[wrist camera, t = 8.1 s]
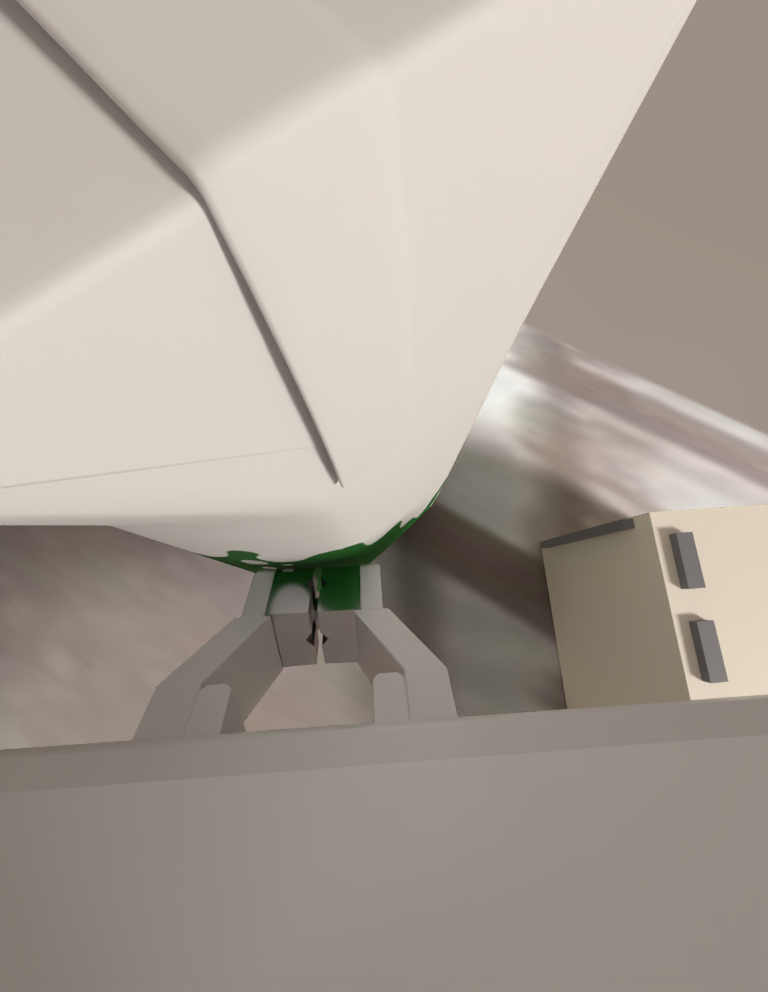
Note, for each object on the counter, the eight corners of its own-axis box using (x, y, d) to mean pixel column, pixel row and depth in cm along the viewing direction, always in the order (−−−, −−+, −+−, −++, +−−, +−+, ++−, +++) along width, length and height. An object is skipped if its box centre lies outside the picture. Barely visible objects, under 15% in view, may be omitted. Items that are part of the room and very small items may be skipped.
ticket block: (581, 850, 17) (767, 1075, 9) (533, 542, 20) (644, 511, 12) (724, 833, 18) (1021, 1035, 10) (657, 533, 21) (845, 497, 13)
